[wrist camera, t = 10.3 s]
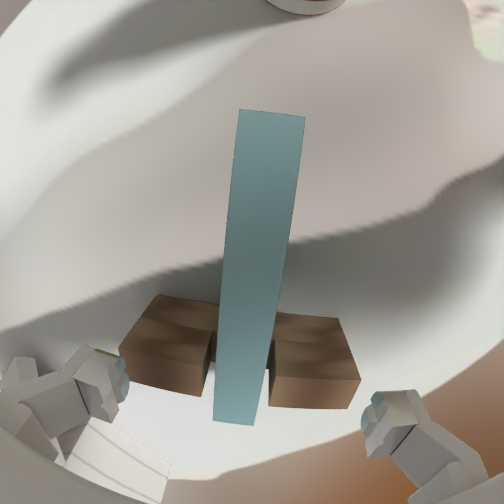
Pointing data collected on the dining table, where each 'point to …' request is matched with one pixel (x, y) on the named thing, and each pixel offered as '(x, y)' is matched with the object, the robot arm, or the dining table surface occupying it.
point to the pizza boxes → (102, 449)
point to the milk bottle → (307, 6)
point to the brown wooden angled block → (205, 346)
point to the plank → (254, 256)
